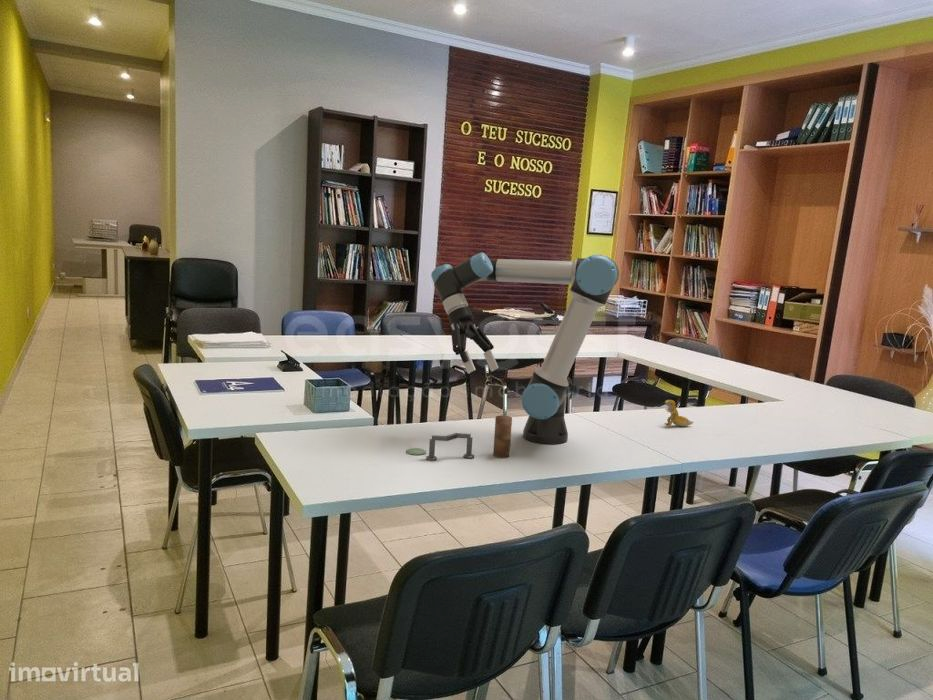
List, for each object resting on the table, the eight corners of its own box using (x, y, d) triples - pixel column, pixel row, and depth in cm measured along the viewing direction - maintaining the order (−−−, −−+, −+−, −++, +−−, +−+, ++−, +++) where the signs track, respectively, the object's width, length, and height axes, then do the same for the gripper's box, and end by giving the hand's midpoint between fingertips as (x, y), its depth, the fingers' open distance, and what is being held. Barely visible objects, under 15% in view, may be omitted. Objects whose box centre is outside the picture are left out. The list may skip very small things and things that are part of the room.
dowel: (509, 453, 208) (511, 416, 206) (509, 458, 203) (512, 419, 201) (492, 452, 208) (495, 415, 206) (493, 457, 203) (495, 419, 201)
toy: (649, 416, 256) (663, 394, 254) (680, 429, 261) (694, 408, 259) (657, 424, 250) (671, 401, 248) (688, 437, 255) (702, 415, 253)
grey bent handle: (470, 454, 204) (471, 431, 203) (475, 458, 201) (477, 435, 200) (424, 457, 198) (425, 434, 197) (429, 461, 195) (430, 438, 194)
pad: (426, 450, 207) (426, 448, 206) (425, 455, 201) (425, 454, 201) (407, 448, 207) (407, 447, 206) (405, 454, 201) (405, 453, 201)
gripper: (470, 317, 227) (495, 373, 222) (426, 315, 206) (452, 377, 201) (487, 306, 223) (512, 364, 218) (444, 303, 202) (470, 367, 197)
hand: (483, 370), depth 210 cm, fingers open, 13 cm apart
